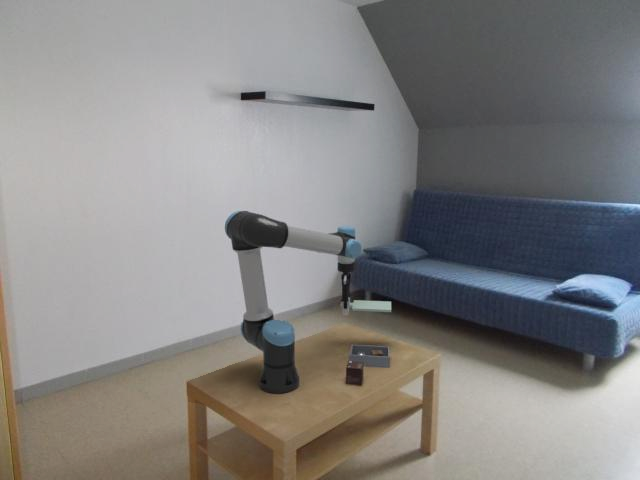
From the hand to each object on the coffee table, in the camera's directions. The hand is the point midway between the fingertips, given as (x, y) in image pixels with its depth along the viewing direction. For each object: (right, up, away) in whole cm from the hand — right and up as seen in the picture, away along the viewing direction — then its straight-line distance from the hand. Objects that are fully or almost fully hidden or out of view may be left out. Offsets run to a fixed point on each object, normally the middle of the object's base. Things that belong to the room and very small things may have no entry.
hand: (345, 313), depth 218 cm
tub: (+9, -18, -13) cm, 24 cm away
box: (+2, -22, -31) cm, 38 cm away
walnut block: (+12, -18, -14) cm, 26 cm away
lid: (+9, +3, -2) cm, 9 cm away
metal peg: (+6, -18, -14) cm, 23 cm away
